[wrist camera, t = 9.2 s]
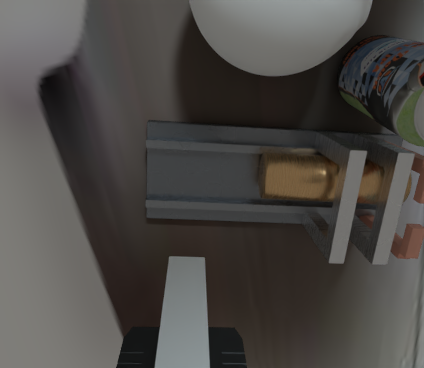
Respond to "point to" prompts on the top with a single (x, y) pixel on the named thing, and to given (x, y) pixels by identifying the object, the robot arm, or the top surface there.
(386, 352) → the top surface
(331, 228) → the collar
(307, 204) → the grey open frame rack
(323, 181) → the copper tube
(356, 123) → the top surface
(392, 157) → the collar
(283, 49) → the decorative ball
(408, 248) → the aperture bridge
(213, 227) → the top surface
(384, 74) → the beverage can
